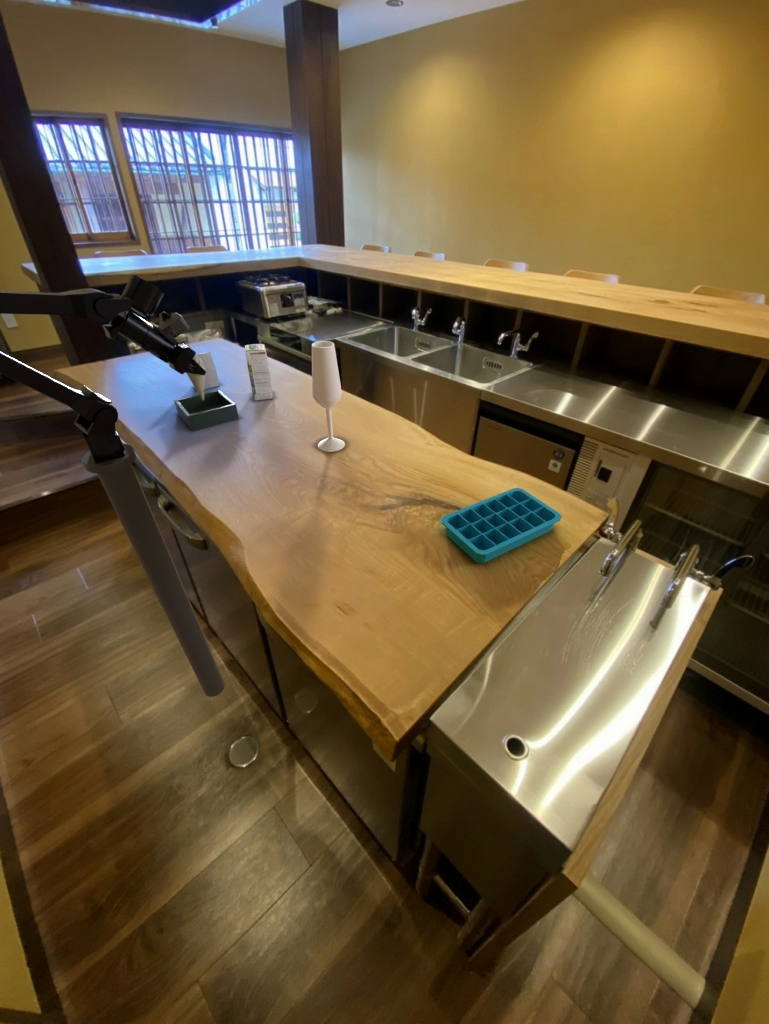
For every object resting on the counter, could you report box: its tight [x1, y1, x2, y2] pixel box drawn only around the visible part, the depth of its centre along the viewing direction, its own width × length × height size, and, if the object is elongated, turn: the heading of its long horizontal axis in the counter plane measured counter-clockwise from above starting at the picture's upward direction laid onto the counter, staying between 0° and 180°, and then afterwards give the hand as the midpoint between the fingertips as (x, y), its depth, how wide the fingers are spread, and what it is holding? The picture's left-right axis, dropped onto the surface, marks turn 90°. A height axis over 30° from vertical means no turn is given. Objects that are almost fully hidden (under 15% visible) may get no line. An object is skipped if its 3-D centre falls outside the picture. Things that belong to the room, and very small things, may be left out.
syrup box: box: [244, 343, 274, 401], centre depth 123 cm, size 6×6×14 cm
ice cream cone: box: [186, 341, 206, 400], centre depth 109 cm, size 5×5×15 cm
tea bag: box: [196, 351, 221, 390], centre depth 131 cm, size 4×7×10 cm, turn 129°
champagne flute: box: [311, 340, 346, 453], centre depth 97 cm, size 7×7×24 cm
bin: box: [173, 389, 240, 432], centre depth 115 cm, size 13×13×4 cm
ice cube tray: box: [440, 487, 563, 564], centre depth 78 cm, size 12×20×3 cm, turn 121°
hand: (200, 370), depth 110 cm, fingers closed on ice cream cone, 5 cm apart
